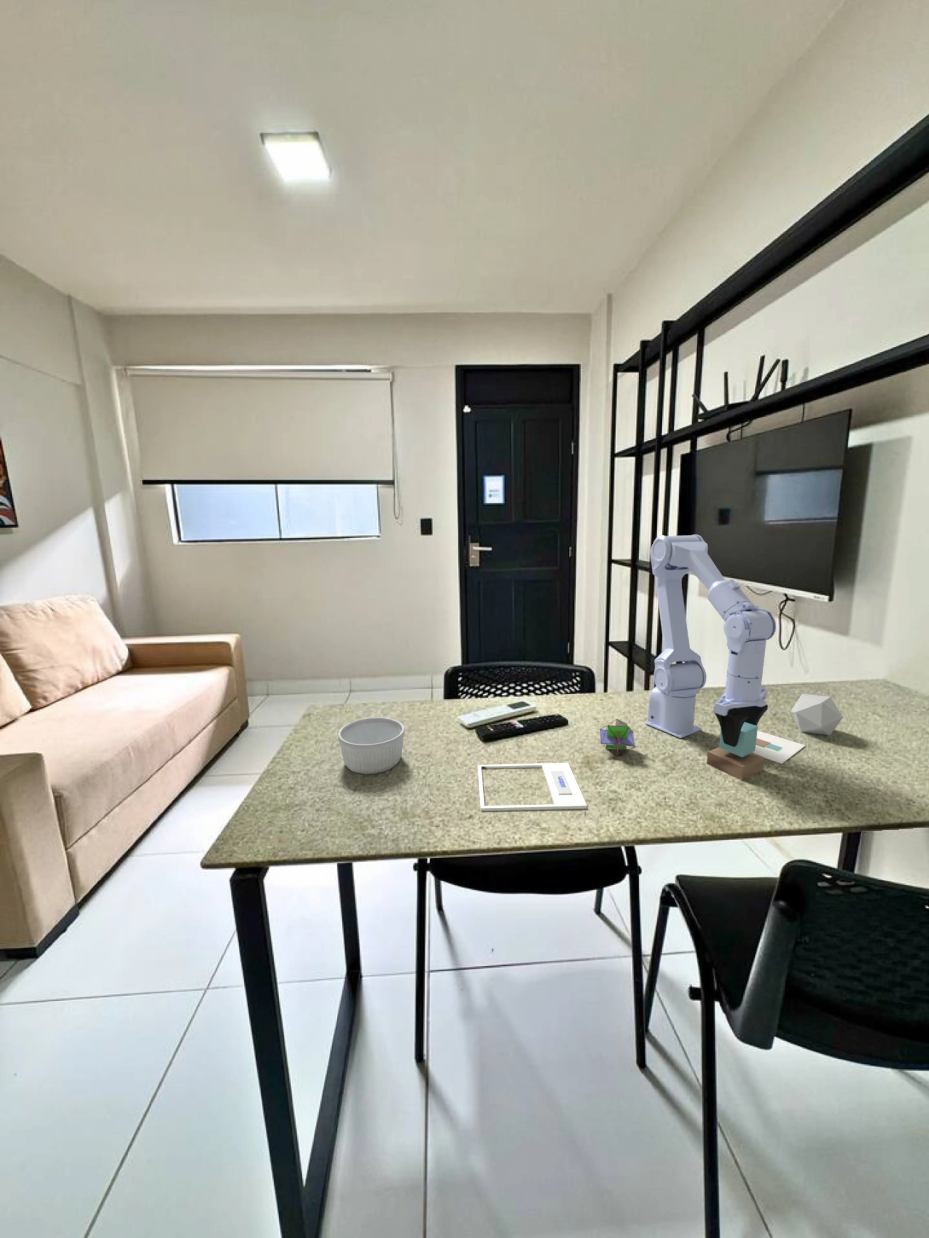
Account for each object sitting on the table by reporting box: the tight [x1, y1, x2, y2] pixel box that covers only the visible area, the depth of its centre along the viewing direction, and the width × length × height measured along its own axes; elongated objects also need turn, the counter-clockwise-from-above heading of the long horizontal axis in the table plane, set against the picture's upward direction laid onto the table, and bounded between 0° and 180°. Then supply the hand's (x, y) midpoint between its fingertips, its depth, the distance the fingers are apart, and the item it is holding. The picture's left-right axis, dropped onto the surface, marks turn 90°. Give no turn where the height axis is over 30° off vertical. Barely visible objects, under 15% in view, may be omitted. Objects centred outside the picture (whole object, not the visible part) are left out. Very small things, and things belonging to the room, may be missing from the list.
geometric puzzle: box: [599, 718, 636, 758], centre depth 100 cm, size 7×7×8 cm
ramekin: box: [337, 716, 405, 775], centre depth 98 cm, size 13×13×7 cm
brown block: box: [706, 746, 766, 781], centre depth 93 cm, size 7×7×3 cm
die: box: [790, 693, 844, 737], centre depth 107 cm, size 8×9×10 cm
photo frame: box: [477, 762, 588, 812], centre depth 88 cm, size 15×1×18 cm
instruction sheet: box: [753, 730, 806, 765], centre depth 102 cm, size 10×12×1 cm
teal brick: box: [718, 722, 759, 757], centre depth 92 cm, size 4×4×5 cm
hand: (737, 741), depth 93 cm, fingers open, 5 cm apart
